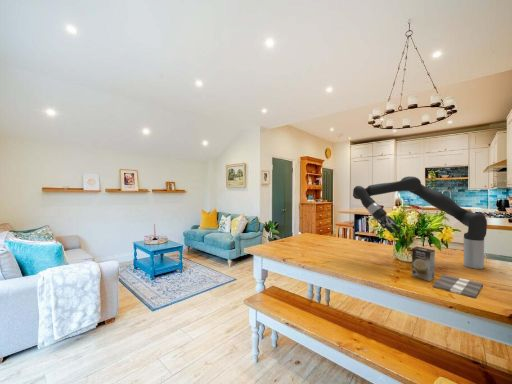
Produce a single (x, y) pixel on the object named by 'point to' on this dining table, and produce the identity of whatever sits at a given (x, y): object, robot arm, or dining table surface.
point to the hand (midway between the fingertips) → (396, 231)
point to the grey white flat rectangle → (458, 285)
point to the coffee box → (423, 263)
